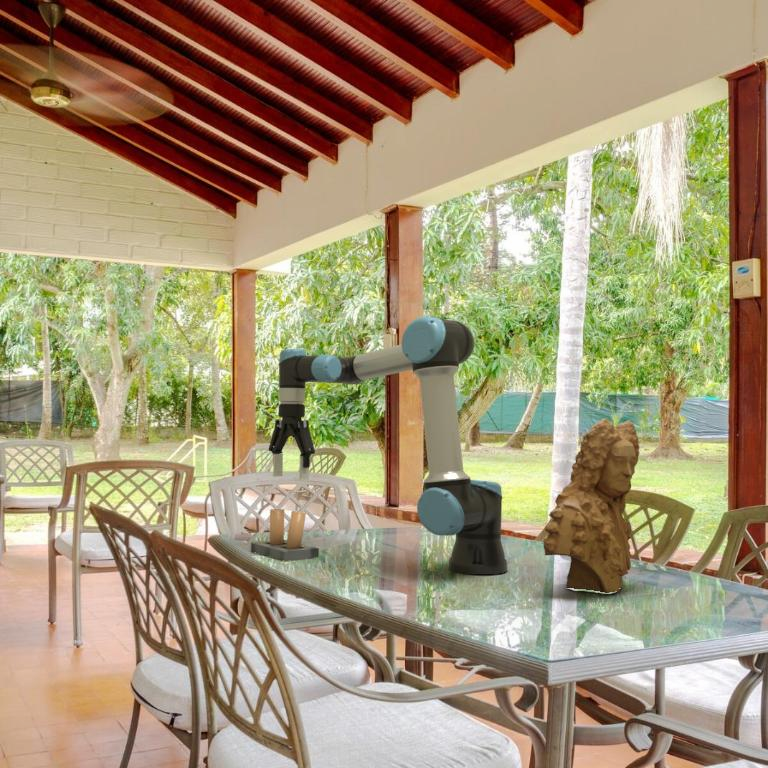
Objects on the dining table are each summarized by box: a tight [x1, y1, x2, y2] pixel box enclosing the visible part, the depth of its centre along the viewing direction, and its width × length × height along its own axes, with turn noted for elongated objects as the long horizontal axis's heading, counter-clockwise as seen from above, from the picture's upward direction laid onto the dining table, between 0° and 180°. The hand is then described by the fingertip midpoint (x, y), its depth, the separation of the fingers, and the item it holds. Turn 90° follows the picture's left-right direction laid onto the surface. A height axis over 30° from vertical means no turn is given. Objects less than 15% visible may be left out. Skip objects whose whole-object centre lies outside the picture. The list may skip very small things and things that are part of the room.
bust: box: [543, 417, 640, 593], centre depth 203 cm, size 34×18×40 cm, turn 149°
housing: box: [250, 539, 320, 562], centre depth 241 cm, size 18×11×2 cm, turn 38°
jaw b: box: [268, 508, 285, 546], centre depth 244 cm, size 4×4×12 cm
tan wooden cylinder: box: [286, 510, 307, 550], centre depth 238 cm, size 4×4×12 cm
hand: (290, 478), depth 246 cm, fingers open, 13 cm apart
